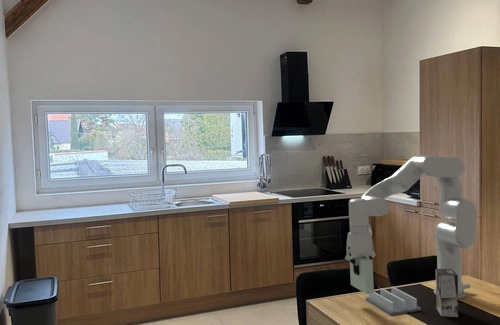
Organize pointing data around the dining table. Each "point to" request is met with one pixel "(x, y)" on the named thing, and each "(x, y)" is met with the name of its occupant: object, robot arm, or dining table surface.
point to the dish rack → (393, 301)
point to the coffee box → (447, 292)
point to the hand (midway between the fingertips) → (361, 273)
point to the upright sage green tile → (363, 275)
